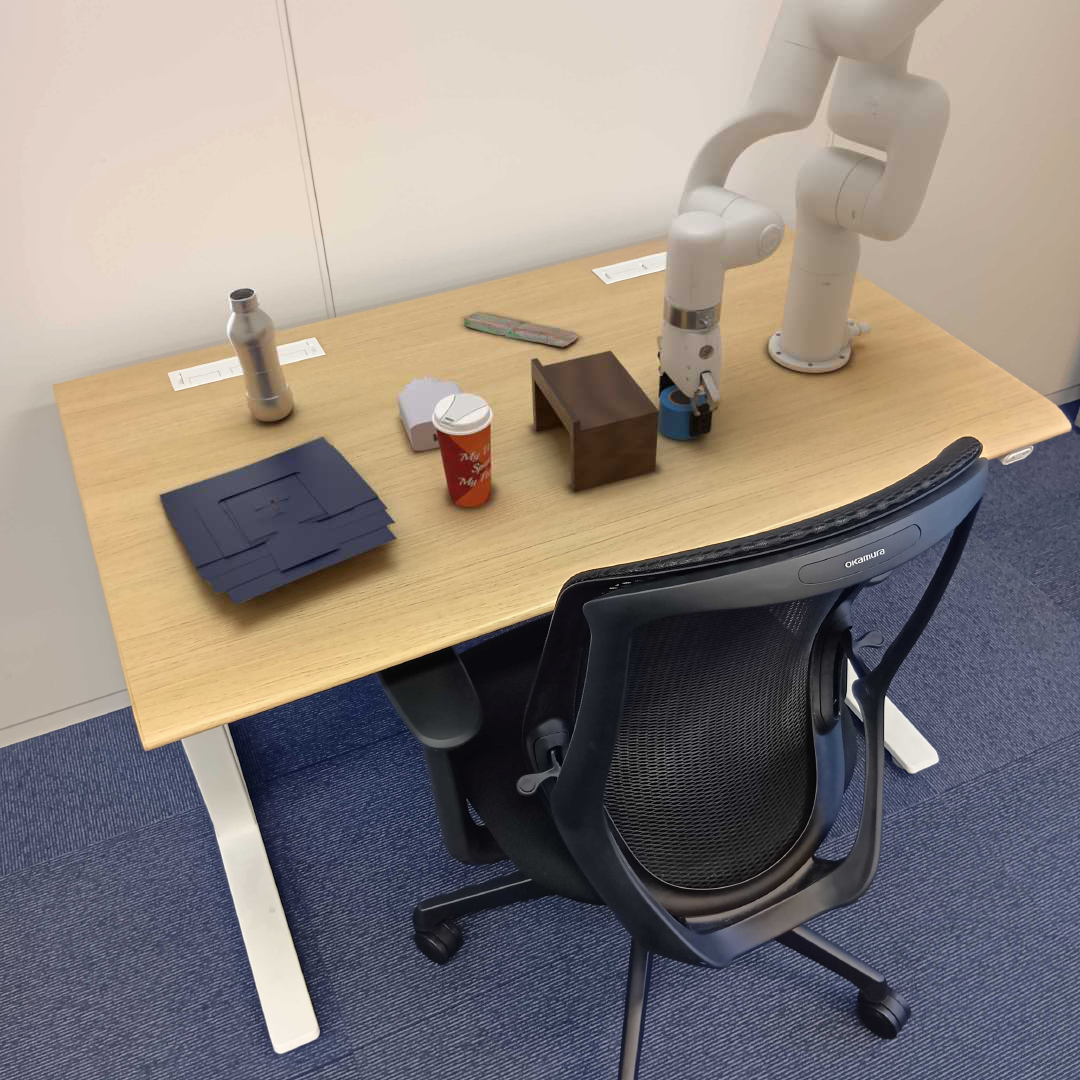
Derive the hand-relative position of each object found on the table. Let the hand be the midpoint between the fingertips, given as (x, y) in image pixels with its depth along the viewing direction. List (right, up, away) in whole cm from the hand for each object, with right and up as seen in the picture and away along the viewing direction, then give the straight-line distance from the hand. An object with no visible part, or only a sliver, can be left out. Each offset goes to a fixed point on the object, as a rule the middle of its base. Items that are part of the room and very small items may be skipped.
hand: (683, 415), depth 141 cm
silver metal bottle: (-61, +1, +7) cm, 61 cm away
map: (-24, +17, +22) cm, 36 cm away
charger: (-37, 0, +5) cm, 37 cm away
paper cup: (-30, -12, -9) cm, 33 cm away
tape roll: (0, -1, +1) cm, 2 cm away
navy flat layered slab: (-54, -16, -12) cm, 58 cm away
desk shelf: (-13, -5, -2) cm, 14 cm away
